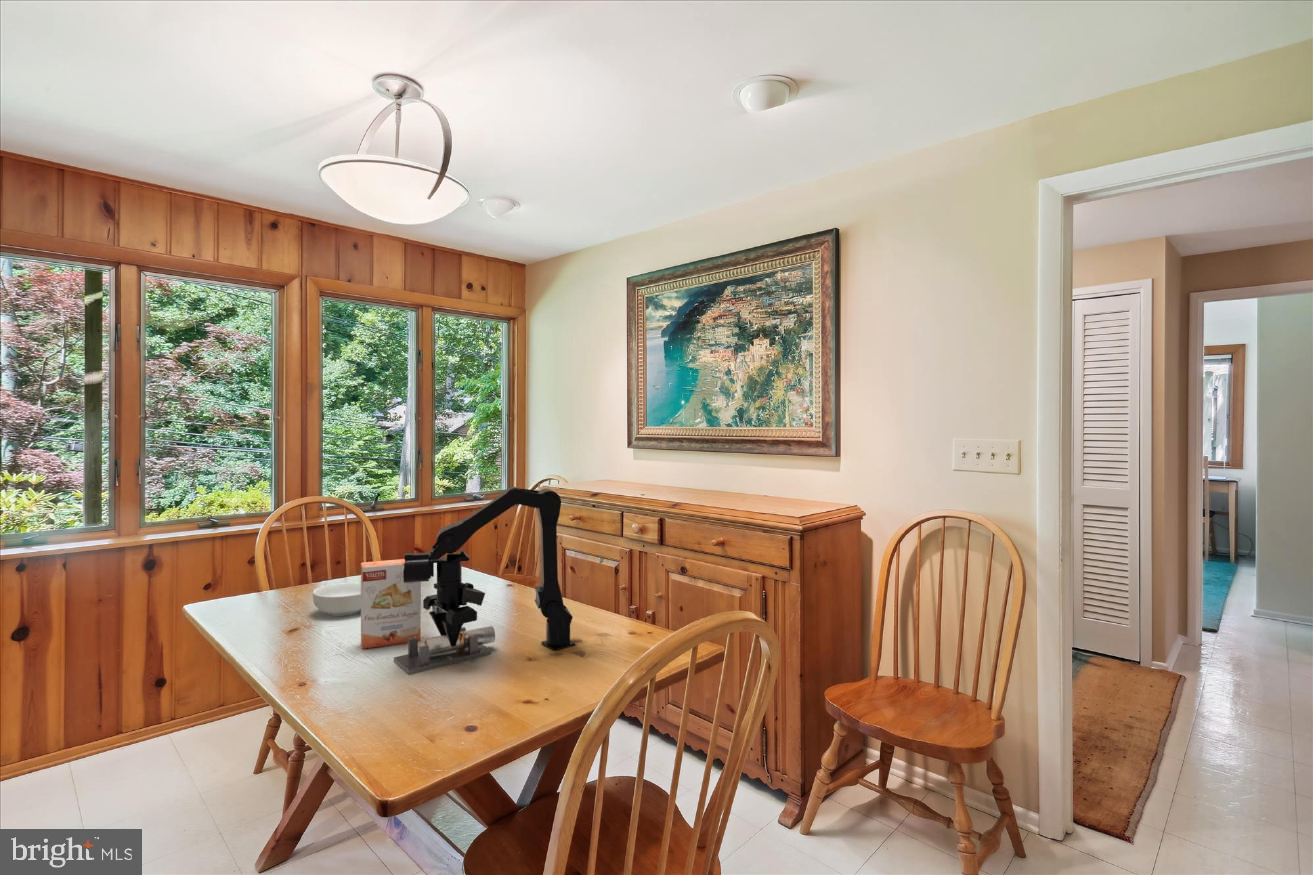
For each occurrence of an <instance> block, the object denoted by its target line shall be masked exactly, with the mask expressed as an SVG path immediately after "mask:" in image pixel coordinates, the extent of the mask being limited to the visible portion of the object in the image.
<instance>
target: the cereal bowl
mask: <svg viewBox="0 0 1313 875" xmlns="http://www.w3.org/2000/svg"><path fill="white" fill-rule="evenodd" d="M312 601H313V605H314V606H315V607H316V609H318V610H319V611H320V612H323V613H327V614H329V615H330V616H333V617H344V616H350V615H354V614H357V613H359V611H361V582H356V581H355V582H341V583H340V582H339V583H332V584H327V585H323V586H320V587H318V588H317V587H316V588H315V589H314V590H313V591H312Z"/></svg>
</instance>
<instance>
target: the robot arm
mask: <svg viewBox="0 0 1313 875" xmlns="http://www.w3.org/2000/svg"><path fill="white" fill-rule="evenodd" d="M515 505H520V506H526V507H529V508H535V509H536V514H537V517H538V518H537V519H538V521H539V524H540V551H541V552H540V553H541V554H540V556H541V560H540V561H541V562H540V563H541V581H540V586H537V585H536V586H534V590H535V598H534V602H535V604H536V606H537V609H539V610H540V612H541V615H542V616H543V617H545V619H546V625H545V626H546V627H545V629H546V632H545V633H546V637H545V638H546V640H543V641H541V642H540V643H541V645H543V646H544V647H547V648H548V649H550V650H552V651H557V650H562V649H565V648H569V647H573V646H575V645H576V642H575V641H573V640H572V639H571V623H572V620H573V615H572V613H571V612H570V610H569V608H568V607H567V606H566V605H565V604H564V600H563V596H562V592H561V588H560V583H559V573H558V572H559V571H558V570H559V569H558V543H557V542H558V541H557V540H558V537H557V535H558V533H557V532H558V531H557V530H558V529H557V527H558V522H559V518H560V516H561V515H560V513H561V506H562V499H561V496H560V495H559V494H558V493H557V492H556V491H554V490H553V489H550V488H542V489H540V490H536V489H527V488H521V487H517V486H510V487H508V488H507V489H506V490H505V491H504V492H502V493H501V494H500V495H498V496H496V498H494V499H492V500H491V501H490V502H488V503H487V504H485V505H483V506H482V507H481V508H479V509H478V510H476V511H474V512H473V513H472V514H470V515H469V516H467V517H465V518H463V519H460V520H457V521H454V522H452V523H450V524H448V525H446V526H444V527H442V528H440V530H439V531H438V532H437V535H436V541H435V543H434V544H433V545H432V547H431V548H430V549H429V551H428V552H423V553H414V552H413V553H412V552H408V553H405V554H404V559H405V563H404V570H403V579H404V583H410V582H421V583H422V582H430V579H431V578H432V577H433V578H434V576H435V574H434V573H435V571H434V570H435V568H434V566H435V564H436V582H435V583H433V589H435V590H436V594H431V595H430V594H429V595H426V596H425V597H424V598H423V600H422V603H423V604H422V607H423V609H425V610H426V611H428V610H431V609H432V611H429V612H428V613H429V616H430V618H431V619H432V621H433V623H434V624H435V627H436V628H437V631H438V633H439V634H440V635H439V636H442V635H447V637H448V640H449V643H450V645H451V646H452V647H453V646H456V643H457V640H458V637H459V634H460V630H461V628H462V627H463V626H464V624H466V623H471V622H477V620H478V611H477V610H475V609H474V608H472V607H470V606H469V605H468V604H473V605H476V606H479V607H480V606H482V605H483V602H484V599H485V597H486V592H485V591H482V590H480V589H477V588H474V587H475V586H474V584H472V583H470V582H465V583H464V582H462V580H463V579H462V575H463V574H462V573H463V572H462V565H463V564H462V562H469V561H470V555H469V554H467V553H466V552H465V551H464V549H461V548H462V547H463V546H464V545H465V544H466V543H467V542H468V541H469V539H471V537H472V536H473V535H474V534H475V533H477V532H478V531H479V530H480V529H482V528H483V527H484V526H486V525H487V524H489V523H490V522H492V521H493V520H495V519H496V518H498V517H499V516H501V515H502V514H504V513H506V512H507V511H508V510H509V509H511V508H512V507H514V506H515ZM459 549H461V550H460V551H459ZM457 551H459V552H457ZM456 552H457V553H456ZM445 555H446V556H445Z"/></svg>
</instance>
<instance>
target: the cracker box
mask: <svg viewBox="0 0 1313 875" xmlns="http://www.w3.org/2000/svg"><path fill="white" fill-rule="evenodd" d="M404 563H405V558H400V559H399V558H398V559H390V560H389V559H387V560H376V561H365V562H363V561H362V562H361V563H360V583H361V610H360V643H361V649H363V650H365V649H371V648H377V647H378V648H379V647H384V646H393V645H397V644H398V645H399V644H406V643H407V644H408V639H411V638H415V637H417V638H418V642H419V641H421V637H422V636H421V634H422V633H421V629H422V628H421V627H422V626H421V623H422V622H421V620H422V617H421V615H422V612H421V610H422V607H421V606H422V597H421V596H422V582H410V583H404V579H403V570H404Z"/></svg>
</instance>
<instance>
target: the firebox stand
mask: <svg viewBox="0 0 1313 875" xmlns="http://www.w3.org/2000/svg"><path fill="white" fill-rule="evenodd" d="M466 629H467V628H466V627H465V626H462V628H461V630H460V632H461V631H467V630H466ZM488 655H492V649H490V648H489V647H487V646H485V644H483V645H478V635H477V634H475V635H470V636H468V648H464V649H460V650H454V651H449V652H444V653H439V654H435V655H430V656H429V646H428V645H426V646H425V645H422V646H419V641H418V638H417V637H415V638H411V639H408V642H407V654H404V655H398V656H394V657H393V662H394V664H396V665H397V666H398V667H399V668H400V669H401V670H402V671H404V672H405V673H406V674H407V675H413V674H417V673H420V672H424V671H429V670H433V669H437V668H440V667H445V666H448V665H452V664H456V663H460V662H465V661H468V660H472V659H477V658H481V657H484V656H488Z"/></svg>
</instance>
